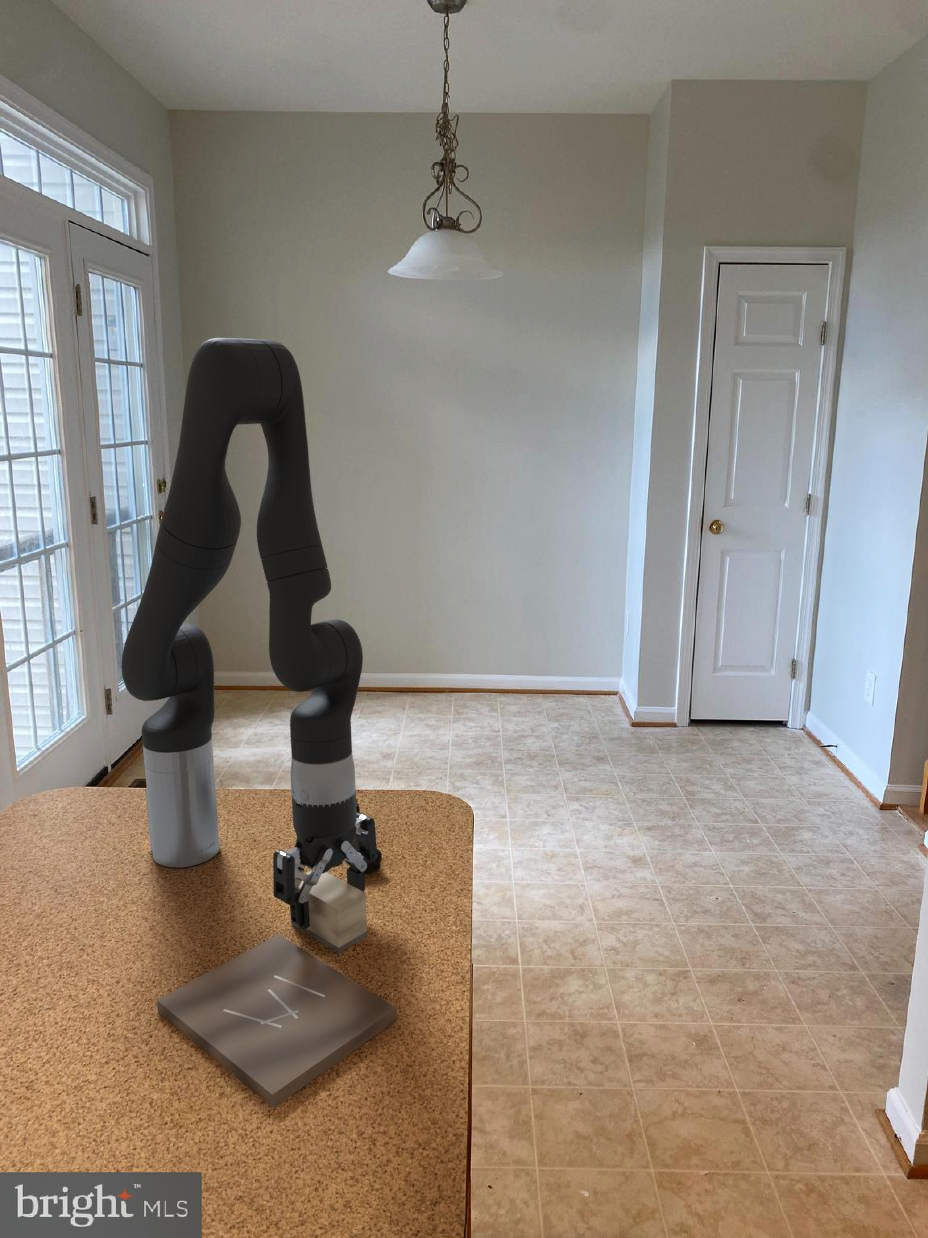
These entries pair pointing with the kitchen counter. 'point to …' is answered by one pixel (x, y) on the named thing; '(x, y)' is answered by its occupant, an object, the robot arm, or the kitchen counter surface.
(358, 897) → the block
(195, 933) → the kitchen counter surface
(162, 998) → the walnut board
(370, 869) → the hand tool
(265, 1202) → the kitchen counter surface
